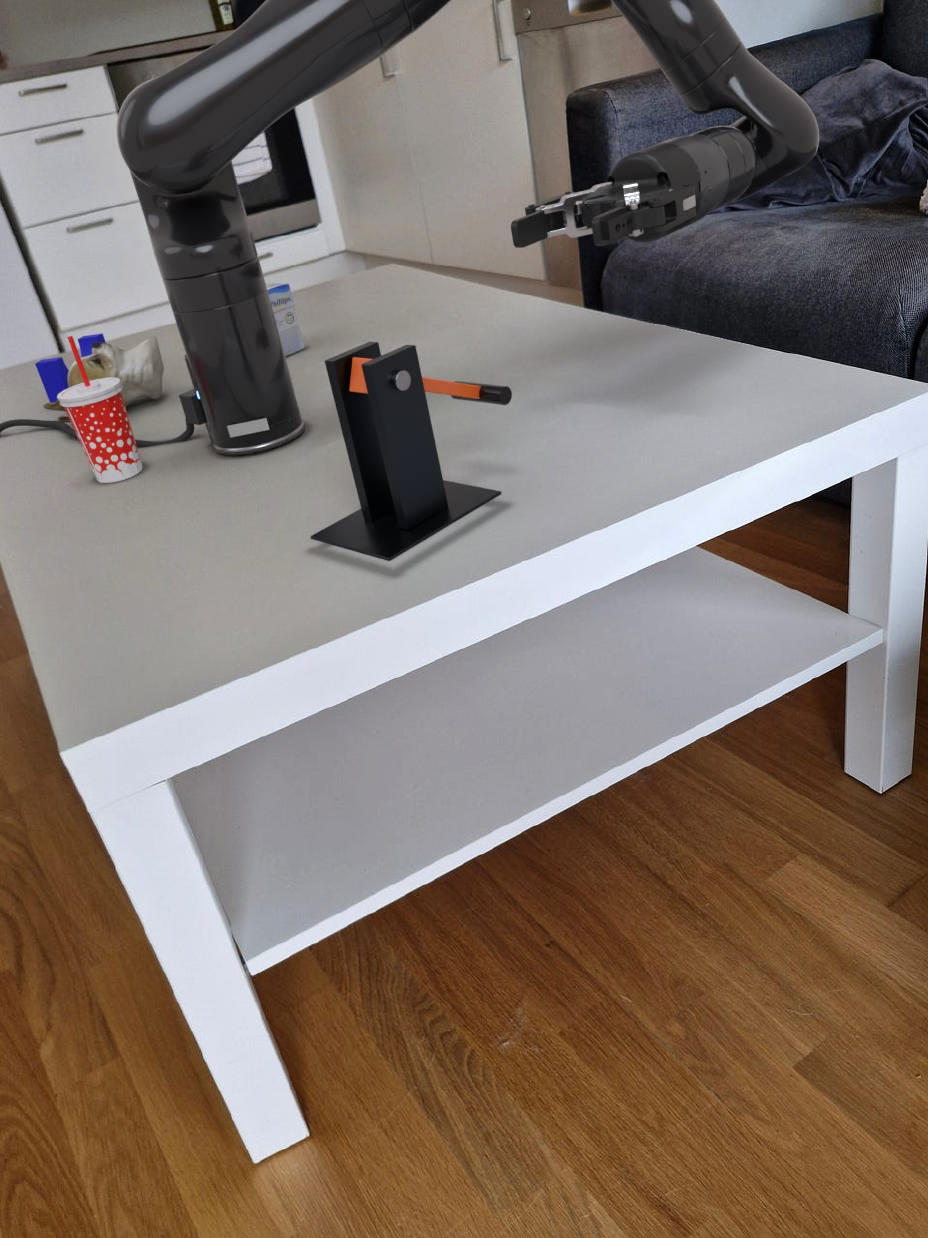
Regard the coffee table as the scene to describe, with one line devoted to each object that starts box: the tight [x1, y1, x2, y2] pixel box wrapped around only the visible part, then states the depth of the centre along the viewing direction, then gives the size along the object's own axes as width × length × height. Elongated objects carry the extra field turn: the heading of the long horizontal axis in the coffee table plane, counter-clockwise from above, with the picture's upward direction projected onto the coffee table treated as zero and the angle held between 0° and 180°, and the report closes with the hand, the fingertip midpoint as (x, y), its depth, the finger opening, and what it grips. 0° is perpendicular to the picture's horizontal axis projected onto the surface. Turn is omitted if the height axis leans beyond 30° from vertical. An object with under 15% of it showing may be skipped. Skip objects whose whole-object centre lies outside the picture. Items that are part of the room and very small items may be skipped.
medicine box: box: [265, 283, 306, 358], centre depth 136 cm, size 8×4×9 cm, turn 49°
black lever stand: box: [310, 341, 502, 562], centre depth 76 cm, size 12×9×14 cm
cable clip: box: [34, 333, 107, 403], centre depth 136 cm, size 12×4×6 cm, turn 168°
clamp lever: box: [349, 357, 513, 406], centre depth 78 cm, size 13×6×2 cm, turn 136°
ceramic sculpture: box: [42, 334, 165, 424], centre depth 124 cm, size 11×9×15 cm
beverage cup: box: [57, 335, 144, 484], centre depth 101 cm, size 6×6×14 cm
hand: (554, 234), depth 84 cm, fingers open, 8 cm apart
